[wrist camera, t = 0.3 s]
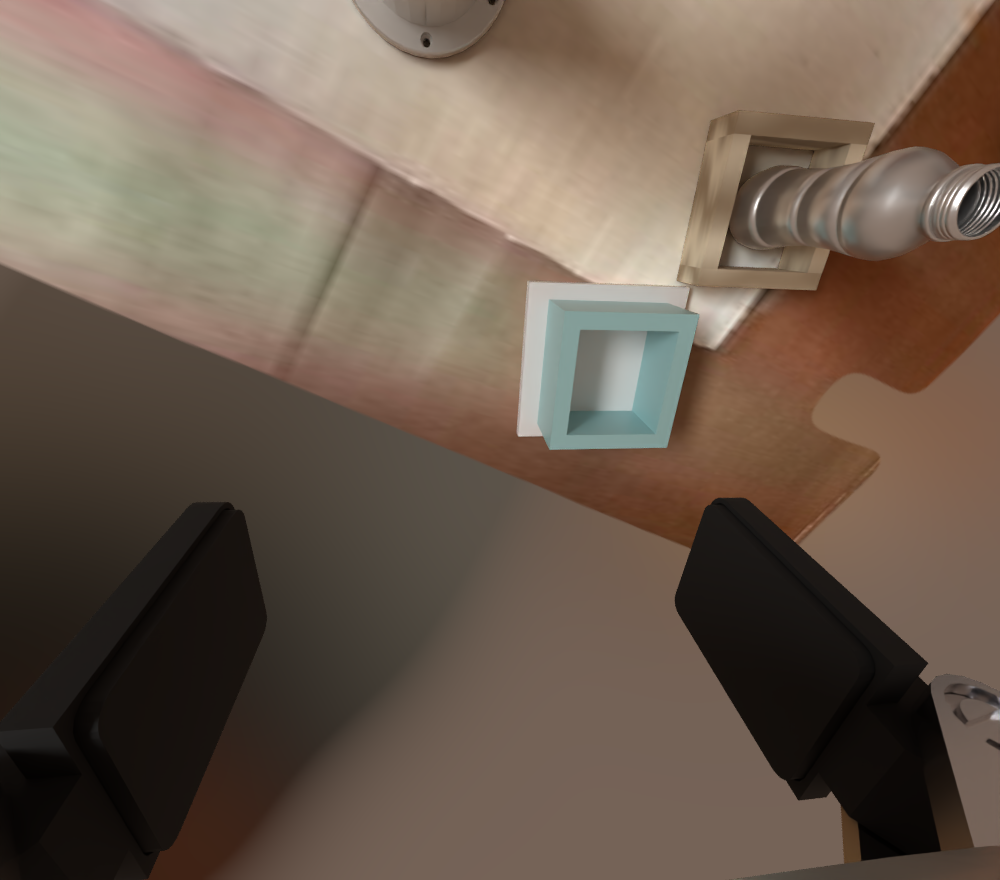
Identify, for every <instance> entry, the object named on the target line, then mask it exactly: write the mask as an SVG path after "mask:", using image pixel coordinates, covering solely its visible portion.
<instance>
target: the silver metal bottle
mask: <svg viewBox="0 0 1000 880" xmlns="http://www.w3.org/2000/svg"><path fill="white" fill-rule="evenodd" d="M998 226H1000V163H996V164H987V165H984V164H969V165H964V166H961V167H959V165H958V164H957V163H956V162H954V161H953V160H952V159H951V158H950V157H949V156H947V155H946V154H945V153H944V152H941V151H938V150H935V149H931V148H927V147H911V148H906V149H902V150H897V151H892V152H890V153H886V154H883V155H880V156H877V157H873V158H870V159H867V160H864V161H860V162H857V163H853V164H848V165H843V166H837V167H832V168H802V167H798V166H784V165H779V166H774V167H771V168H769V169H766V170H764V171H762V172H759V173H757V174H755V175H754V176H752V177H751V178H749V179H748V180H747V181H746V182H745V183H744V184H743V185H742V187H741V188H740V189H739V190H738V192H737V194H736V198H735V202H734V206H733V210H732V214H731V217H730V221H729V228H730V231H731V234H732V235H733V237H734V239H735V240H736V241H737V242H739V243H740V244H742V245H744V246H746V247H749V248H751V249H755V250H765V249H773V248H778V247H782V246H810V247H816V248H822V249H828V250H832V251H835V252H839V253H842V254H845V255H848V256H852V257H855V258H858V259H863V260H868V261H880V260H885V259H889V258H894V257H899V256H902V255H904V254H906V253H909V252H911V251H912V250H914V249H916V248H918V247H920V246H922V245H923V244H925V243H927V242H928V241H930V240H931V241H938V242H947V241H952V240H974V239H979V238H981V237H984V236H986V235H987V234H989V233H991V232H992V231H994V230H995V229H996V228H997V227H998Z"/></svg>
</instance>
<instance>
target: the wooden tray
mask: <svg viewBox="0 0 1000 880" xmlns="http://www.w3.org/2000/svg"><path fill="white" fill-rule="evenodd" d="M874 124H875V123H870V122H859V121H849V120H838V119H827V118H817V117H806V116H795V115H785V114H774V113H764V112H753V111H742V110H739V111H736V112H733V113H731V114H728V115H725V116H722V117H720V118H717V119H714V120H711V123H710V128H709V132H708V137H707V142H706V146H705V151H704V156H703V160H702V165H701V170H700V174H699V179H698V184H697V188H696V193H695V198H694V202H693V207H692V211H691V216H690V221H689V225H688V230H687V235H686V239H685V244H684V249H683V253H682V258H681V263H680V267H679V272H678V277H677V281H680V282H684V283H688V284H692V285H696V286H710V287H738V288H766V289H794V290H816V289H817V286H818V283H819V280H820V277H821V275H822V272H823V269H824V266H825V263H826V260H827V258H828V255H829V252H830V250H828V249H822V248H816V247H810V246H785V247H784V250H783V253H782V256H781V260H780V263H779V266H778V269H776V268H753V267H729V266H718V265H719V261H720V257H721V253H722V249H723V245H724V241H725V237H726V233H727V229H728V225H729V221H730V217H731V214H732V210H733V206H734V202H735V198H736V194H737V190H738V186H739V182H740V178H741V174H742V170H743V166H744V162H745V158H746V154H747V150H748V146H749V145H754V146H766V147H778V148H790V149H802V150H814V153H813V156H812V159H811V163H810V166H809V168H832V167H837V166H843V165H848V164H853V163H857V162H860V161H862V158H863V156H864V153H865V150H866V147H867V144H868V141H869V139H870V136H871V133H872V130H873V127H874Z"/></svg>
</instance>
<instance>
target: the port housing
mask: <svg viewBox="0 0 1000 880" xmlns="http://www.w3.org/2000/svg"><path fill="white" fill-rule="evenodd" d="M689 290H690V288H689V287H686V286H662V285H634V284H606V283H578V282H550V281H527V295H526V309H525V323H524V337H523V351H522V365H521V379H520V393H519V408H518V422H517V435H518V436H543V437H544V439H545V441H546V443H547V445H548V447H549V449H550V450H552V449H613V448H667V445H668V441H669V437H670V433H671V429H672V425H673V421H674V417H675V413H676V409H677V404H678V400H679V396H680V392H681V388H682V384H683V380H684V376H685V372H686V368H687V364H688V360H689V355H690V351H691V347H692V343H693V339H694V335H695V331H696V327H697V323H698V319H699V314H697V313H694V312H691V311H688V310H685V307H686V303H687V298H688V294H689Z"/></svg>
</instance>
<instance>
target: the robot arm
mask: <svg viewBox="0 0 1000 880" xmlns="http://www.w3.org/2000/svg"><path fill="white" fill-rule="evenodd" d="M352 1H353V3H354V5H355V7H356V8H357V10H358V11H359V12H360V14H361V15H362V16H363V18H364V19H365V20H366V22H367V23H368V24H369V25H370V26H371V27H372V28H373V29H374V30H375V31H376V32H377V33H378V34H379V35H380V36H381V37H382V38H383V39H384V40H386V41H387V42H389V43H390V44H392V45H393V46H395V47H396V48H398V49H400V50H402V51H404V52H407V53H409V54H412V55H414V56H420V57H426V58H442V57H448V56H451V55H454V54H457V53H460V52H463V51H464V50H466V49H467V48H469V47H470V46H472V45H474V44H475V43H476V42H477V41H478V40H479V39H480V38H481V37H482V36H483V35H484V34H485V33H486V32H487V31H488V30H489V28H490V27H491V25H492V24H493V22H494V21H495V19H496V18H497V16H498V15H499V12H500V10H501V8H502V6H503V3H504V1H505V0H494V1H495V4H494V5H490V4H489V3H488V0H352ZM425 40H428V41H429V42H430V46H429V47H425V46H424V45H423V42H424V41H425ZM675 606H676V609H677V612H678V614H679V616H680V617H681V619H682V620H683V622H684V624H685V625H686V627H687V629H688V630H689V632H690V633H691V635H692V637H693V638H694V640H695V642H696V643H697V645H698V647H699V648H700V650H701V652H702V653H703V655H704V657H705V658H706V660H707V662H708V663H709V665H710V667H711V668H712V670H713V672H714V673H715V675H716V677H717V678H718V680H719V681H720V683H721V684H722V686H723V688H724V690H725V691H726V693H727V695H728V696H729V698H730V700H731V701H732V703H733V704H734V706H735V708H736V709H737V711H738V713H739V714H740V716H741V718H742V719H743V721H744V723H745V724H746V726H747V728H748V729H749V731H750V733H751V734H752V736H753V737H754V739H755V741H756V742H757V744H758V746H759V747H760V749H761V751H762V752H763V754H764V756H765V757H766V759H767V761H768V762H769V764H770V765H771V767H772V769H773V770H774V771H775V773H776V774H777V775H778V776H779V777H780V778H782V779H784V780H786V781H787V783H788V784H789V786H790V788H791V789H792V791H793V792H794V794H795V796H796V797H797V799H798V800H805V799H815V798H823V797H827V795H828V794H829V793H830V792H831V791H832V792H833V794H834V795H835V797H836V798H837V800H838V801H839V803H840V804H841V821H842V837H843V852H844V853H843V855H844V864H838V865H831V866H824V867H817V868H810V869H803V870H795V871H788V872H781V873H774V874H767V875H760V876H753V877H745V878H738V879H731V880H1000V691H998V690H996V689H994V688H991V687H990V686H988V685H986V684H984V683H982V682H979V681H975V680H973V679H970V678H967V677H964V676H958V675H951V674H944V675H940V676H936V677H935V678H934V679H933V680H932V682H931V683H930V684H929V685H927V684H926V683H925V682H923V680H922V679H920V678H919V677H918V676H919V675H920V673H921V672H922V671H923V669H924V668H925V667H926V665H927V664H928V662H926V661H925V660H924V659H923V658H922V657H921V656H920V655H919V654H918V653H916V652H915V651H914V650H913V649H912V648H911V647H910V646H909V645H908V644H907V643H905V642H904V641H903V640H902V639H901V638H900V637H899V636H898V635H896V633H894V632H893V631H892V630H891V629H890V628H889V627H888V626H886V624H885V623H883V622H882V621H881V620H880V619H879V618H878V617H877V616H876V615H875V614H873V613H872V612H871V611H870V610H869V609H868V608H867V607H866V606H865V605H864V604H862V603H861V602H860V601H859V600H858V599H857V598H856V597H855V596H854V595H853V594H851V593H850V592H849V591H848V590H847V589H846V588H845V587H844V586H842V584H840V583H839V582H838V581H837V580H836V579H835V578H834V577H833V576H832V575H830V574H829V573H828V572H827V571H826V570H825V569H824V568H823V567H822V566H821V565H819V564H818V563H817V562H816V561H815V560H814V559H812V558H811V556H809V555H808V554H807V553H806V552H805V551H804V550H803V549H802V548H801V547H800V546H799V545H797V544H796V543H795V542H794V541H793V540H792V539H791V538H790V537H789V536H787V535H786V534H785V533H784V532H783V531H782V530H781V529H780V528H779V527H778V526H776V525H775V524H774V523H773V522H772V521H771V520H770V519H769V518H768V517H767V516H765V515H764V514H763V513H762V512H761V511H760V510H759V509H758V508H757V507H756V506H754V505H753V504H752V503H751V502H750V501H749V500H747V499H745V498H717V499H715V500H714V501H713V502H712V503H711V505H708V506H707V507H706V508H705V510H704V513H703V516H702V518H701V521H700V524H699V527H698V530H697V533H696V536H695V539H694V542H693V545H692V548H691V551H690V554H689V557H688V559H687V562H686V565H685V568H684V571H683V574H682V577H681V580H680V583H679V586H678V589H677V592H676V595H675ZM266 621H267V615H266V609H265V604H264V600H263V596H262V591H261V587H260V582H259V578H258V573H257V569H256V564H255V560H254V556H253V551H252V547H251V542H250V538H249V534H248V529H247V525H246V520H245V516H244V513H243V512H242V511H241V510H235V509H234V507H233V505H232V504H231V503H229V502H196V503H192V504H191V505H190V506H189V507H188V508H187V509H186V510H185V511H184V513H182V515H181V516H180V517H179V518H178V519H177V520H176V521H175V523H174V524H173V525H172V526H171V527H170V528H169V529H168V531H167V532H166V533H165V534H164V535H163V536H162V538H161V539H160V540H159V541H158V542H157V543H156V544H155V546H154V547H153V548H152V549H151V550H150V551H149V552H148V553H147V555H146V556H145V557H144V558H143V559H142V561H141V562H140V563H139V564H138V565H137V566H136V567H135V569H134V570H133V571H132V572H131V573H130V574H129V575H128V576H127V578H126V579H125V580H124V581H123V582H122V583H121V585H120V586H119V587H118V588H117V589H116V590H115V591H114V593H113V594H112V595H111V596H110V597H109V598H108V599H107V600H106V602H105V603H104V604H103V605H102V606H101V607H100V609H99V610H98V611H97V612H96V613H95V614H94V615H93V616H92V618H91V619H90V620H89V621H88V622H87V623H86V624H85V626H84V627H83V628H82V629H81V630H80V631H79V632H78V634H77V635H76V636H75V637H74V638H73V639H72V641H71V642H70V643H69V644H68V645H67V646H66V648H65V649H64V650H63V651H62V652H61V653H60V654H59V655H58V657H57V658H56V659H55V660H54V661H53V662H52V663H51V665H50V666H49V667H48V668H47V669H46V670H45V671H44V673H43V674H42V675H41V676H40V677H39V678H38V679H37V681H36V682H35V683H34V684H33V685H32V686H31V687H30V689H29V690H28V691H27V692H26V693H25V694H24V695H23V697H22V698H21V699H20V700H19V701H18V702H17V703H16V705H15V706H14V707H13V708H12V709H11V710H10V711H9V713H8V714H7V715H6V716H5V717H4V718H3V719H2V721H1V722H0V880H144V879H148V878H149V875H150V873H151V870H152V868H153V866H154V864H155V862H156V859H157V857H158V855H159V852H160V851H164V850H167V849H169V848H170V847H171V846H172V845H173V843H174V841H175V840H176V838H177V836H178V834H179V832H180V830H181V827H182V825H183V823H184V821H185V818H186V816H187V814H188V811H189V808H190V806H191V804H192V802H193V799H194V797H195V795H196V792H197V790H198V787H199V785H200V783H201V780H202V778H203V776H204V773H205V771H206V769H207V766H208V764H209V761H210V759H211V757H212V755H213V752H214V750H215V747H216V745H217V743H218V740H219V738H220V736H221V733H222V731H223V729H224V726H225V724H226V721H227V719H228V717H229V714H230V712H231V709H232V707H233V705H234V703H235V700H236V698H237V695H238V693H239V691H240V688H241V686H242V684H243V681H244V679H245V677H246V674H247V672H248V669H249V667H250V665H251V663H252V660H253V658H254V655H255V653H256V651H257V648H258V646H259V644H260V641H261V639H262V636H263V634H264V631H265V627H266Z"/></svg>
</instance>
